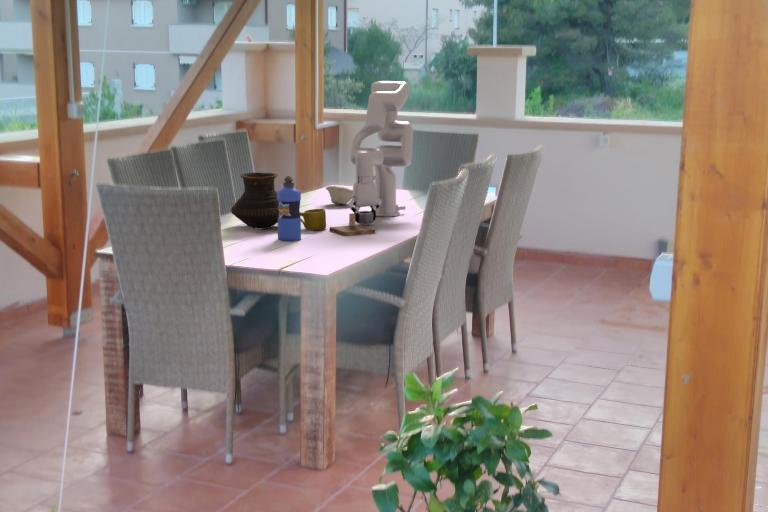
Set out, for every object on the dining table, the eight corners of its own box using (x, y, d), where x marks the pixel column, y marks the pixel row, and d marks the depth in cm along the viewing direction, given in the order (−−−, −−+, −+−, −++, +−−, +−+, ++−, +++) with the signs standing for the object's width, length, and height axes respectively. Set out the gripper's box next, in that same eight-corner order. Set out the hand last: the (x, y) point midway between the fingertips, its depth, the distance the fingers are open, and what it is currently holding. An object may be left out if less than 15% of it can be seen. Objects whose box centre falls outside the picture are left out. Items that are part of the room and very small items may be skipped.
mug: (333, 223, 439) (326, 202, 435) (325, 234, 431) (317, 213, 427) (308, 226, 444) (300, 206, 440) (299, 238, 436) (291, 216, 432)
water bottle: (291, 242, 406) (290, 178, 401) (272, 240, 411) (271, 176, 406) (305, 238, 414) (305, 176, 409) (287, 236, 418) (286, 174, 413)
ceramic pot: (219, 229, 435) (218, 175, 431) (254, 220, 456) (253, 169, 452) (267, 234, 424) (266, 179, 419) (301, 225, 445) (300, 173, 440)
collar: (368, 220, 451) (368, 210, 450) (376, 223, 445) (376, 212, 444) (354, 221, 448) (353, 211, 447) (361, 224, 442) (361, 214, 441)
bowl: (362, 204, 506) (362, 183, 504) (345, 208, 494) (345, 187, 492) (336, 201, 514) (336, 181, 512) (320, 205, 502) (319, 184, 500)
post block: (359, 228, 439) (359, 210, 438) (375, 233, 427) (375, 215, 426) (329, 230, 432) (329, 212, 431) (344, 235, 420) (344, 217, 419)
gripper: (378, 177, 450) (378, 217, 453) (342, 180, 441) (342, 221, 445) (386, 179, 443) (387, 220, 447) (350, 182, 435) (350, 224, 439)
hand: (365, 220), depth 446 cm, fingers closed on collar, 7 cm apart
